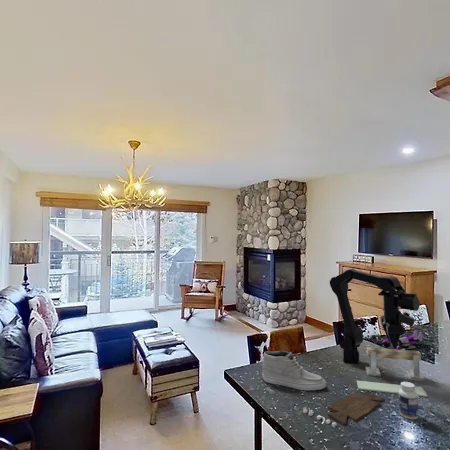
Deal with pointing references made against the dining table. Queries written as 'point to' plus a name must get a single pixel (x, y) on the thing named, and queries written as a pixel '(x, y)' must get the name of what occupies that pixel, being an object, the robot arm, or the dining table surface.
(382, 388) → the mat
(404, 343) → the figurine
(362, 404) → the brown notched wooden board
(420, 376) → the hook standards
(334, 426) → the figurines set
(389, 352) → the rail
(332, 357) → the dining table surface
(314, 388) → the chukka sneaker
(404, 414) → the pill bottle
